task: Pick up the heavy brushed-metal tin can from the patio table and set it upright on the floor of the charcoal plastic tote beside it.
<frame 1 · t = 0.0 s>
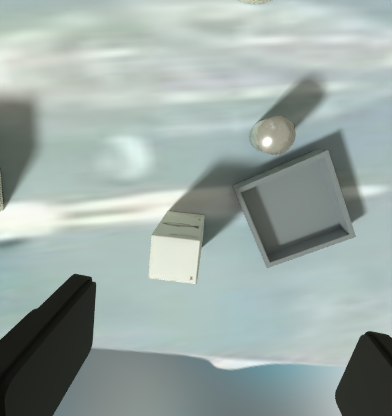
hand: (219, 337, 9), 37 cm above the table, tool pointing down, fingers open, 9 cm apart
tote: (288, 207, 45), on the table
tin can: (264, 136, 42), on the table
supplement box: (184, 229, 48), on the table
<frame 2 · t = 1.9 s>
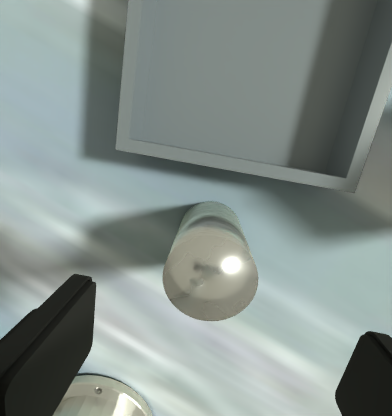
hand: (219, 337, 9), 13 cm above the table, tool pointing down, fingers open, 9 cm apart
tote: (251, 58, 18), on the table
tin can: (210, 230, 21), on the table
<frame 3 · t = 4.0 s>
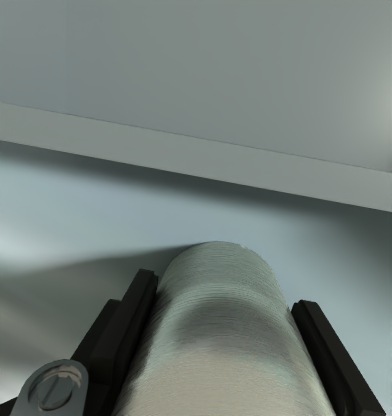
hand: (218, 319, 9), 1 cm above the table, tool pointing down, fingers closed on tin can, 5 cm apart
tin can: (218, 295, 11), on the table, touching gripper
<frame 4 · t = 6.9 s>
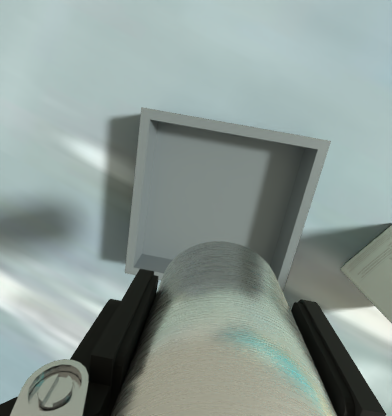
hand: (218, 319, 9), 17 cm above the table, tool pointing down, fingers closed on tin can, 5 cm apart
tote: (216, 202, 26), on the table
tin can: (218, 295, 11), point 16 cm above the table, touching gripper
supplement box: (386, 265, 27), on the table
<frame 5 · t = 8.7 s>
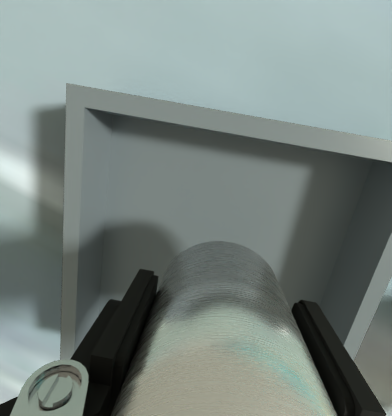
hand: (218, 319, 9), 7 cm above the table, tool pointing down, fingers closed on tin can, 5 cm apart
tote: (216, 248, 16), on the table
tin can: (218, 295, 11), point 5 cm above the table, touching gripper
when the fingers open (4 cm above the table, at t = 10.1 s): tin can drops 1 cm, resting on tote.
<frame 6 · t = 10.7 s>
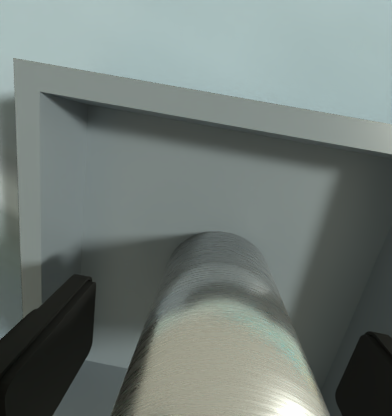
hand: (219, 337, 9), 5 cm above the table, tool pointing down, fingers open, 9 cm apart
tote: (217, 267, 13), on the table
tin can: (216, 279, 12), point 1 cm above the table, touching tote
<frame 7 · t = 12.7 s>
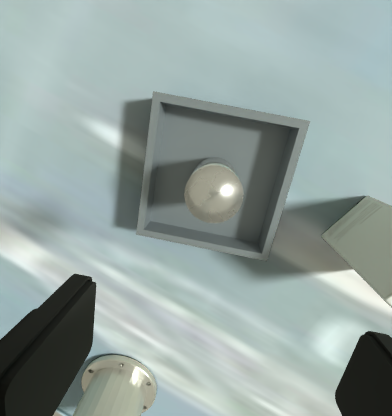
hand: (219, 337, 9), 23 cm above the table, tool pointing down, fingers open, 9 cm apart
tote: (215, 176, 30), on the table
tin can: (214, 179, 29), point 1 cm above the table, touching tote
supplement box: (361, 233, 31), on the table
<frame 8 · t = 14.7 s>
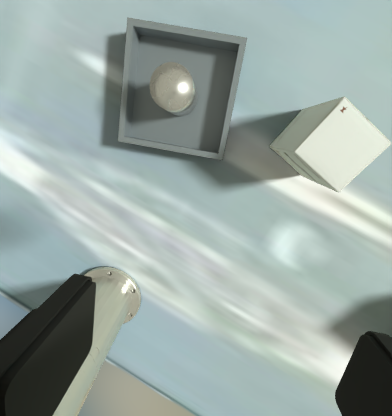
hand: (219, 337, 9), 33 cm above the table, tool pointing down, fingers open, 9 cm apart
tote: (181, 97, 37), on the table
tin can: (180, 97, 37), point 1 cm above the table, touching tote
supplement box: (301, 143, 38), on the table
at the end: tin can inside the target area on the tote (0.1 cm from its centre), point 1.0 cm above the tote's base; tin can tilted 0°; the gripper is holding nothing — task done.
